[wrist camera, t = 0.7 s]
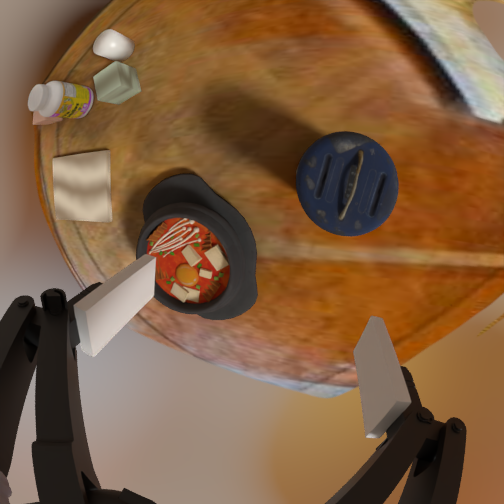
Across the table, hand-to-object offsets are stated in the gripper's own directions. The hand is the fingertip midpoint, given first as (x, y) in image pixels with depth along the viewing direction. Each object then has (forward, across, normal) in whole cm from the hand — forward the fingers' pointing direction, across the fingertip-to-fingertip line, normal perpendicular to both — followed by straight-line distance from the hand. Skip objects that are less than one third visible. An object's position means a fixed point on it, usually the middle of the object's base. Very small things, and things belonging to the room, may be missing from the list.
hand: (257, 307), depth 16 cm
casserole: (+27, -12, -9) cm, 31 cm away
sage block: (+27, -31, +16) cm, 44 cm away
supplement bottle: (+27, -42, +14) cm, 52 cm away
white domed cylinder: (+27, -35, +24) cm, 50 cm away
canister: (+27, +5, +7) cm, 28 cm away
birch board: (+27, -39, -3) cm, 47 cm away
